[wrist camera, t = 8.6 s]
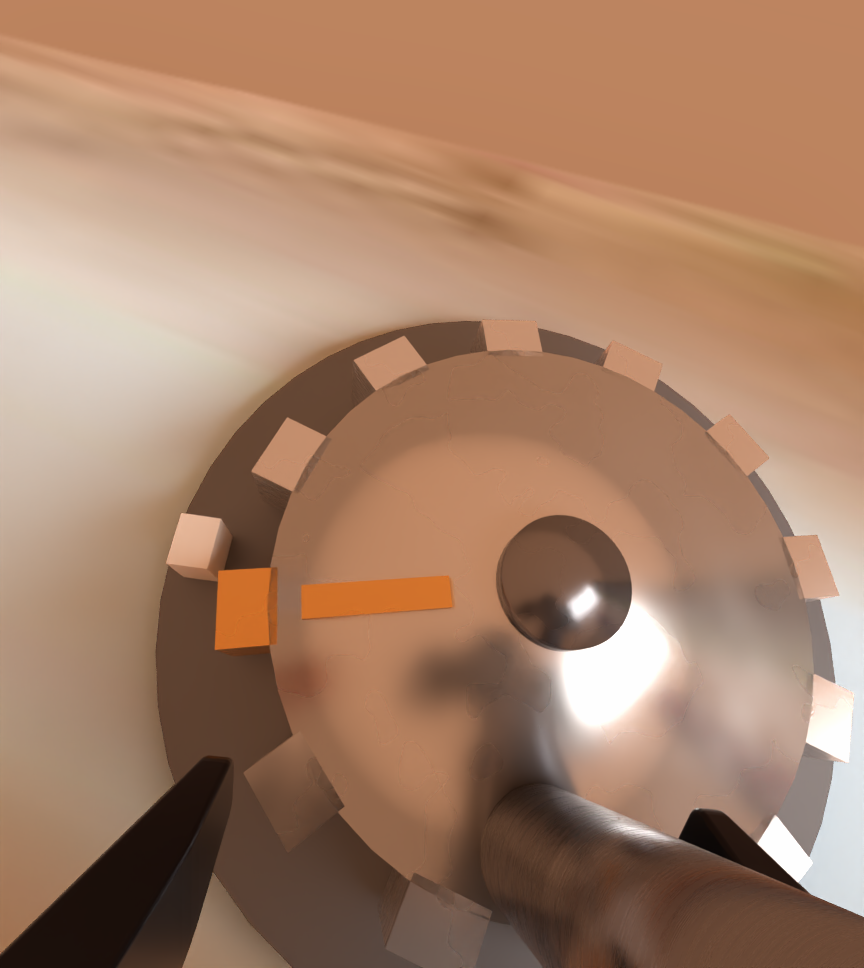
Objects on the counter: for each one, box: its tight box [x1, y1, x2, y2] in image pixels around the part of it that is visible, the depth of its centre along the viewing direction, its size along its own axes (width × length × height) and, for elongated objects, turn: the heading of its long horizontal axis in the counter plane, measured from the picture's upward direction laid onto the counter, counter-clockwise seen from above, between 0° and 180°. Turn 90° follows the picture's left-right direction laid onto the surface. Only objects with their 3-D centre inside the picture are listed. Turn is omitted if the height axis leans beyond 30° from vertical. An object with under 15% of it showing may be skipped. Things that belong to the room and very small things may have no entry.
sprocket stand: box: [156, 321, 835, 968], centre depth 14 cm, size 19×19×2 cm
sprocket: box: [215, 320, 864, 968], centre depth 9 cm, size 15×15×10 cm
